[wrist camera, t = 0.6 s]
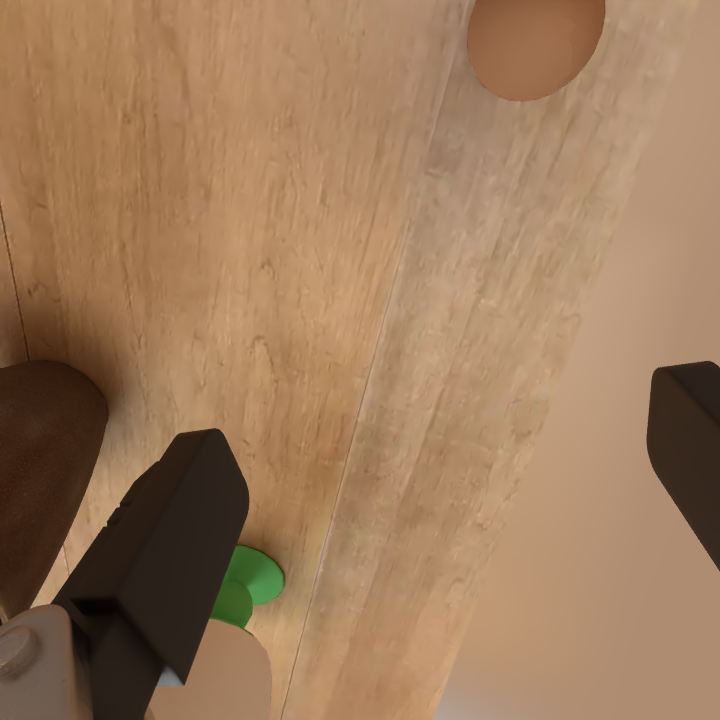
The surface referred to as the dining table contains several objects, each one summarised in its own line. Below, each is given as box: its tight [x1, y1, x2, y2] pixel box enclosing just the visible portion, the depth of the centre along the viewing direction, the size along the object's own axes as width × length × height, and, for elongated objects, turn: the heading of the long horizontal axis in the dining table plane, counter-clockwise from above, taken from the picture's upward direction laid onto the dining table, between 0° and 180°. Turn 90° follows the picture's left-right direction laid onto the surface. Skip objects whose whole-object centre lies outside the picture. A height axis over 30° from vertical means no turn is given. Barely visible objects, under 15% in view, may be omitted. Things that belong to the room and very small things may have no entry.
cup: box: [148, 545, 284, 720], centre depth 39 cm, size 14×14×16 cm
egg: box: [467, 0, 605, 101], centre depth 19 cm, size 5×5×8 cm
